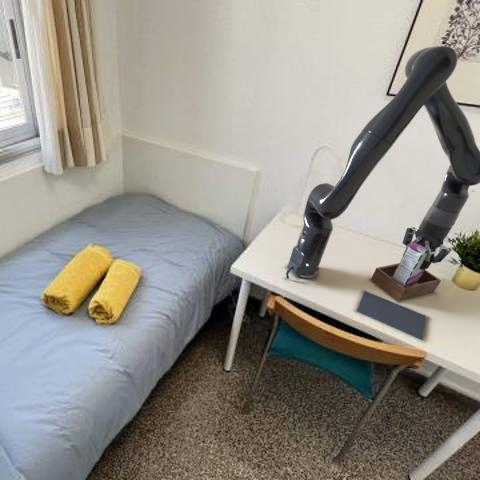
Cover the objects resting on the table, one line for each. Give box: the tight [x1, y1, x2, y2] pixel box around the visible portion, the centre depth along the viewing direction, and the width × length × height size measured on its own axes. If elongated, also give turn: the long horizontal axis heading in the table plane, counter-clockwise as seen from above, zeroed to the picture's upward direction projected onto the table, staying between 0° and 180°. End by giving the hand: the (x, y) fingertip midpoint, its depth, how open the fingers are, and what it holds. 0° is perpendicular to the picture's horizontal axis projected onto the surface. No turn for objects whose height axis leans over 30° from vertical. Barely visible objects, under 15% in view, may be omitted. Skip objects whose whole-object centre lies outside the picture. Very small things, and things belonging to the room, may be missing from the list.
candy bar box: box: [391, 243, 433, 287], centre depth 117 cm, size 11×5×16 cm, turn 122°
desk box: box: [370, 262, 442, 302], centre depth 121 cm, size 17×12×6 cm
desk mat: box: [356, 290, 427, 340], centre depth 110 cm, size 12×18×1 cm, turn 52°
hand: (414, 263), depth 116 cm, fingers closed on candy bar box, 5 cm apart
